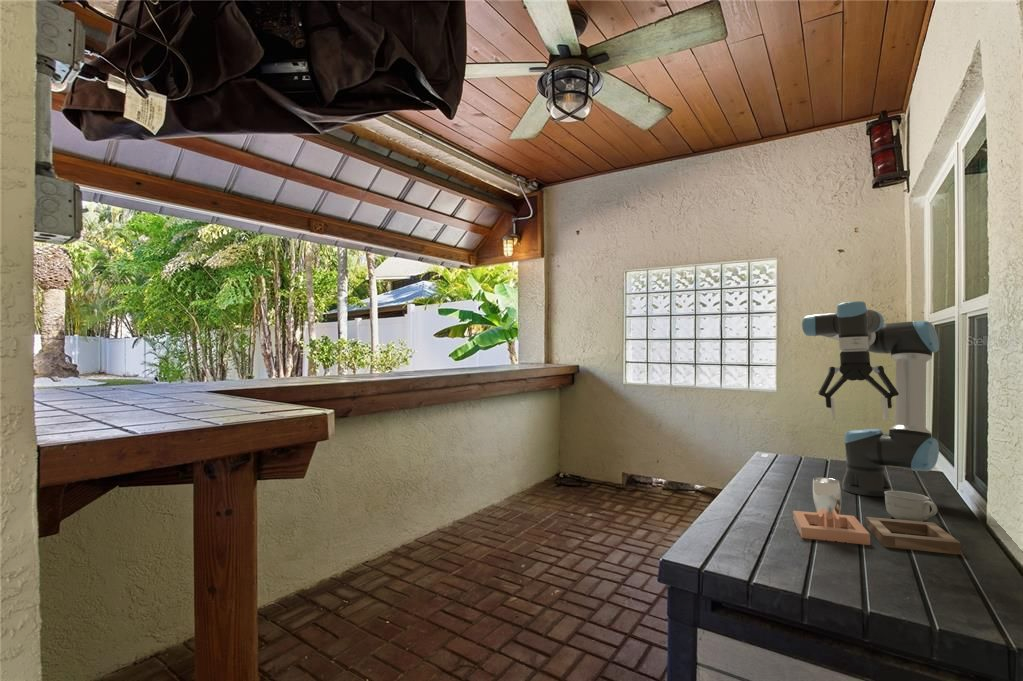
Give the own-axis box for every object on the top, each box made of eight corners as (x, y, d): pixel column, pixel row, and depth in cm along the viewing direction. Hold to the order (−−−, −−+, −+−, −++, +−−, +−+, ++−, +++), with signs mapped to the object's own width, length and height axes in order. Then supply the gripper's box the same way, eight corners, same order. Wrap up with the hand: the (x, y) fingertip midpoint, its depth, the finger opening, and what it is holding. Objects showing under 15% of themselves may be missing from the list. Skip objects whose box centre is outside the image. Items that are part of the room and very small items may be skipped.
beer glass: (848, 536, 133) (845, 483, 133) (821, 535, 134) (817, 482, 135) (836, 528, 139) (833, 477, 140) (811, 527, 141) (807, 477, 142)
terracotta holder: (793, 520, 147) (792, 510, 148) (854, 525, 141) (853, 515, 141) (801, 537, 133) (801, 527, 133) (870, 545, 126) (869, 533, 126)
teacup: (877, 514, 150) (875, 489, 151) (911, 514, 150) (910, 488, 150) (913, 530, 136) (911, 502, 137) (951, 529, 136) (949, 501, 137)
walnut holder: (866, 527, 140) (865, 516, 140) (934, 533, 133) (933, 522, 133) (884, 546, 125) (883, 535, 125) (961, 554, 119) (960, 542, 119)
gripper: (810, 352, 148) (814, 419, 147) (908, 349, 138) (913, 421, 137) (805, 352, 155) (809, 416, 154) (899, 349, 145) (904, 418, 144)
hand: (858, 418), depth 146 cm, fingers open, 13 cm apart
